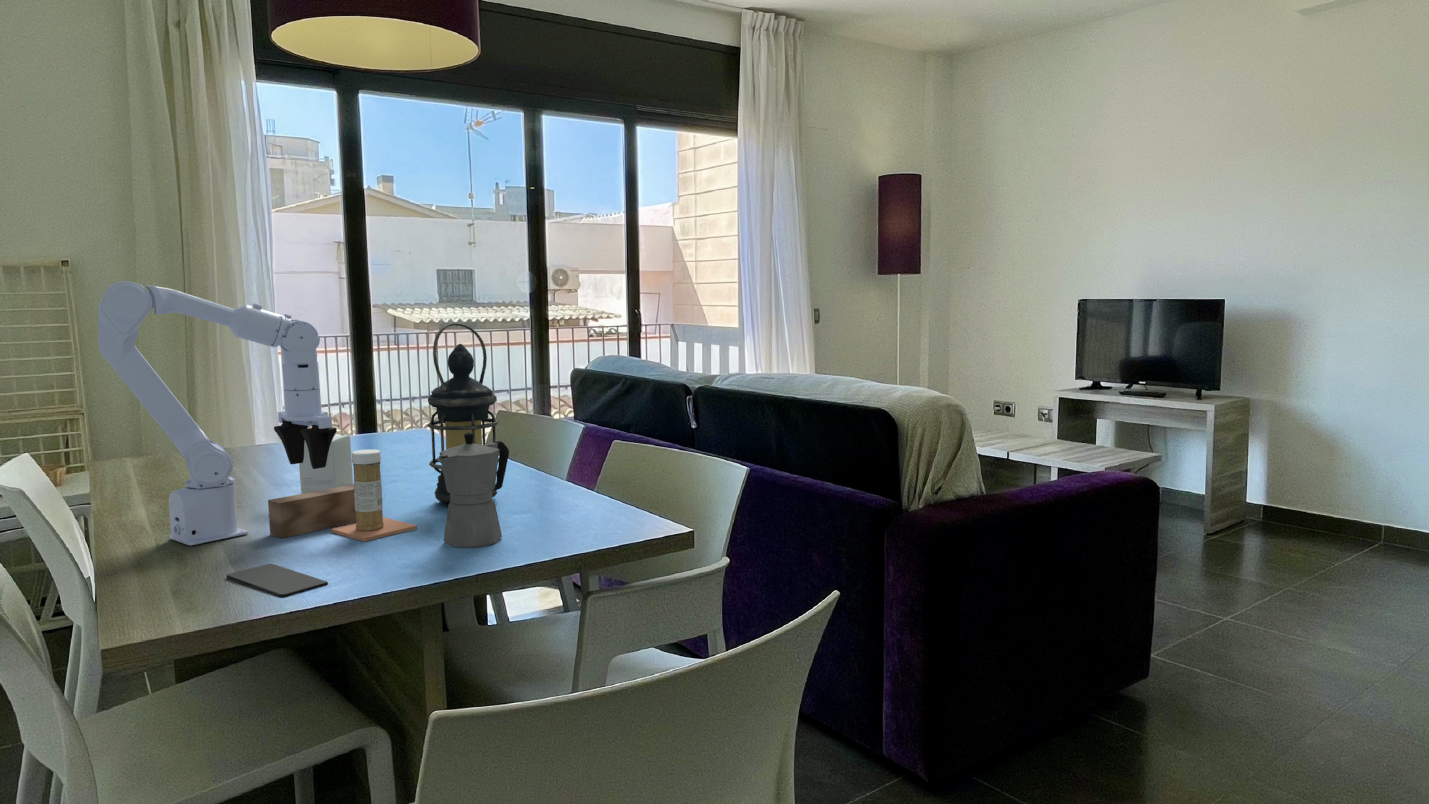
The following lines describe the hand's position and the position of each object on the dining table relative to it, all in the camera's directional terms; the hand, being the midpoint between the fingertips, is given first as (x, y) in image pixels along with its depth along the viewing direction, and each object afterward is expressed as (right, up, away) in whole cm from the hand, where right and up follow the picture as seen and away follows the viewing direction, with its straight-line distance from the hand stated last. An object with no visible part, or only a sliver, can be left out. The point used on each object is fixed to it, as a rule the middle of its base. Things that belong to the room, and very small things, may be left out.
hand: (307, 465), depth 157 cm
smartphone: (+10, -15, -31) cm, 36 cm away
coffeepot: (+33, -12, -10) cm, 36 cm away
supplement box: (-5, -9, +20) cm, 22 cm away
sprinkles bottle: (+13, -11, -5) cm, 17 cm away
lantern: (+23, -9, +17) cm, 30 cm away
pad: (+13, -11, -4) cm, 18 cm away
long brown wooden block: (+4, -11, -1) cm, 11 cm away
